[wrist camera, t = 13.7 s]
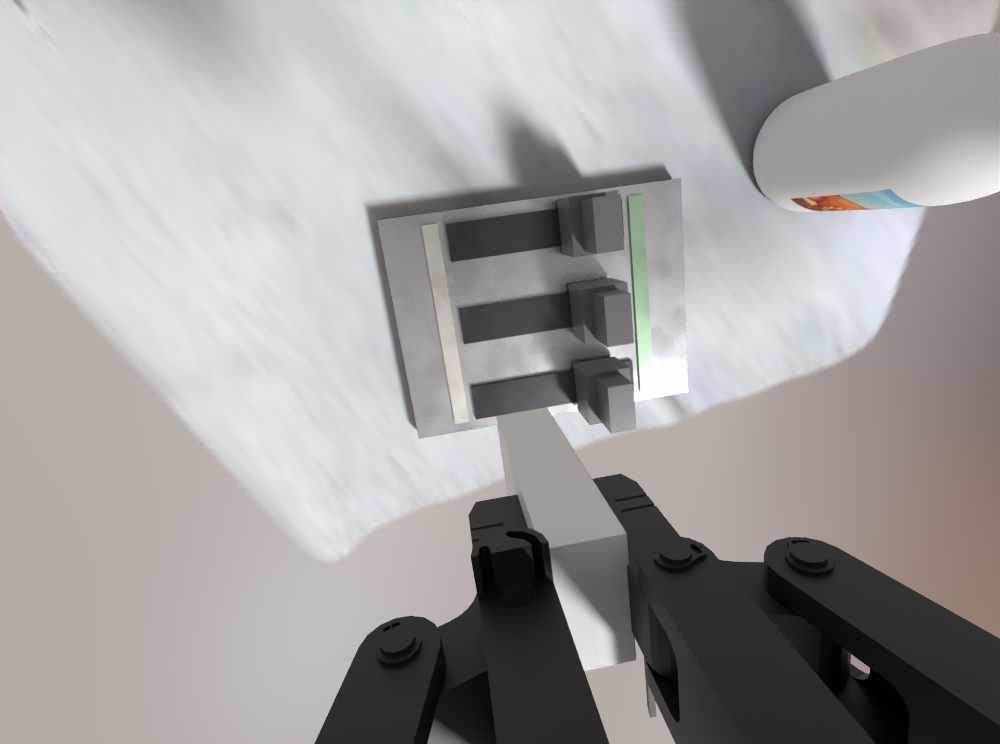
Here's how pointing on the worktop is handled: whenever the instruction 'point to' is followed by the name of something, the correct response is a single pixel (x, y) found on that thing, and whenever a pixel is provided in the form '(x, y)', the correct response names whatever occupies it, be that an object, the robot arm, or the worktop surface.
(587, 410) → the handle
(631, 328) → the handle mid
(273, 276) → the worktop surface
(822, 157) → the milk bottle
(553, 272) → the panel
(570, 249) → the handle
